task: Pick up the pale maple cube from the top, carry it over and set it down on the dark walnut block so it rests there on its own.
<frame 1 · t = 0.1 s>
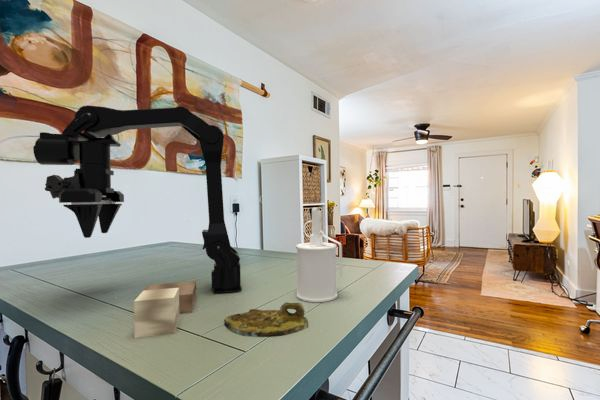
hand: (96, 235, 67), 15 cm above the table, tool pointing down, fingers open, 9 cm apart
white cylinder with spout: (319, 297, 68), on the table
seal: (265, 328, 53), on the table
maple cube: (158, 328, 52), on the table
walnut block: (169, 308, 63), on the table
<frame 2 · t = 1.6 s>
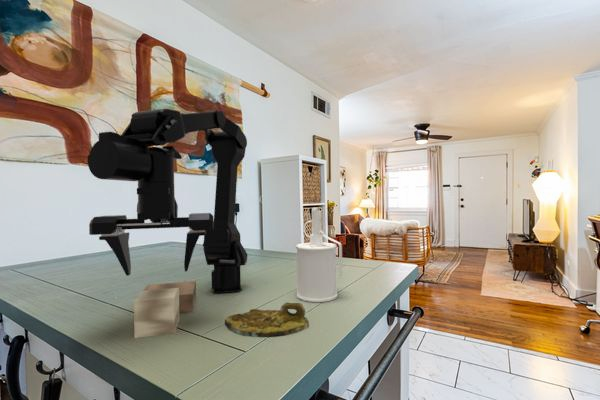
hand: (157, 272, 52), 9 cm above the table, tool pointing down, fingers open, 9 cm apart
nothing on the table moved.
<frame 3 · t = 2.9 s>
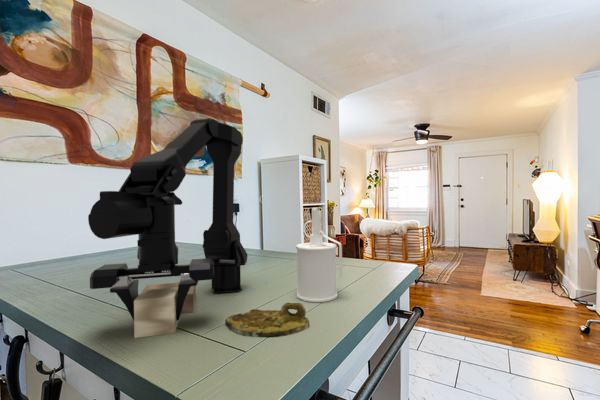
hand: (158, 321, 52), 1 cm above the table, tool pointing down, fingers closed on maple cube, 6 cm apart
maple cube: (158, 328, 52), on the table, touching gripper
everything else where it was.
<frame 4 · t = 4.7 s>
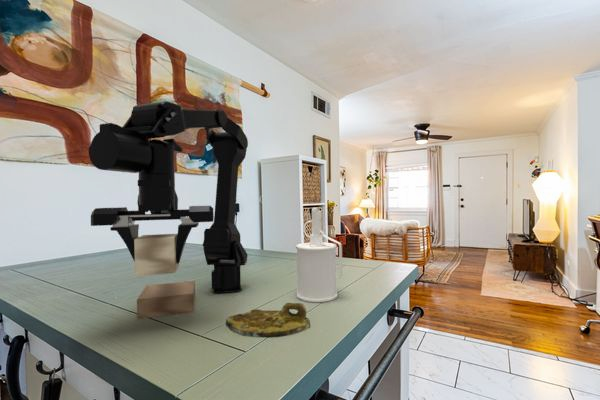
hand: (158, 264, 53), 11 cm above the table, tool pointing down, fingers closed on maple cube, 6 cm apart
maple cube: (158, 270, 53), point 10 cm above the table, touching gripper
everything else where it was.
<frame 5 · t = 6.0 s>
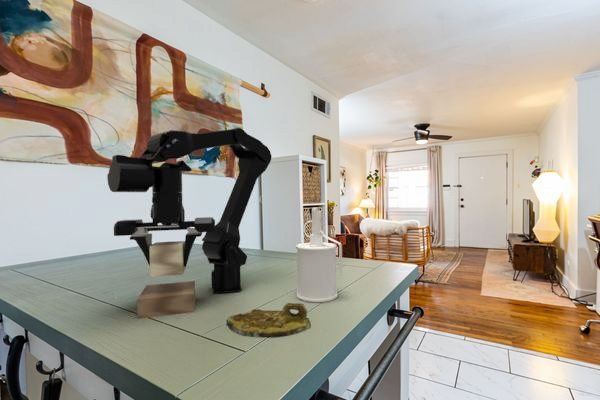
hand: (169, 267, 63), 8 cm above the table, tool pointing down, fingers closed on maple cube, 6 cm apart
maple cube: (169, 272, 63), point 7 cm above the table, touching gripper
everything else where it was.
when the fingers open (6 cm above the table, at t = 6.8 s): maple cube drops 2 cm, point 4 cm above the table.
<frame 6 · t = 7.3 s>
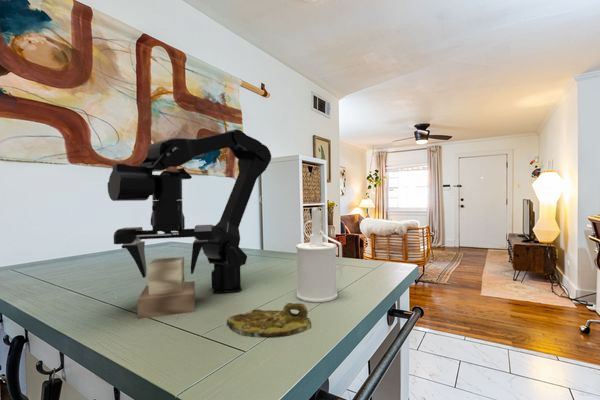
hand: (168, 275, 63), 6 cm above the table, tool pointing down, fingers open, 9 cm apart
maple cube: (167, 289, 63), point 4 cm above the table
everything else where it was.
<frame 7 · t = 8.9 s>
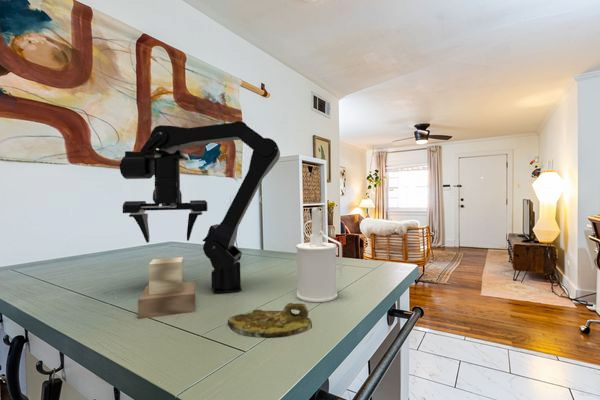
hand: (168, 241, 75), 12 cm above the table, tool pointing down, fingers open, 9 cm apart
nothing on the table moved.
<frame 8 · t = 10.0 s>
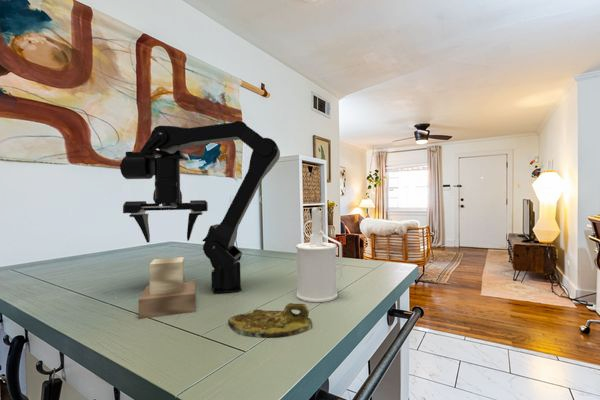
hand: (168, 241, 75), 12 cm above the table, tool pointing down, fingers open, 9 cm apart
maple cube: (168, 289, 63), point 4 cm above the table, touching walnut block
walnut block: (170, 308, 63), on the table, touching maple cube
everything else where it was.
at the end: maple cube 0.2 cm off-centre on the walnut block, point 4.0 cm above the walnut block's base; maple cube tilted 0°; the gripper is holding nothing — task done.
